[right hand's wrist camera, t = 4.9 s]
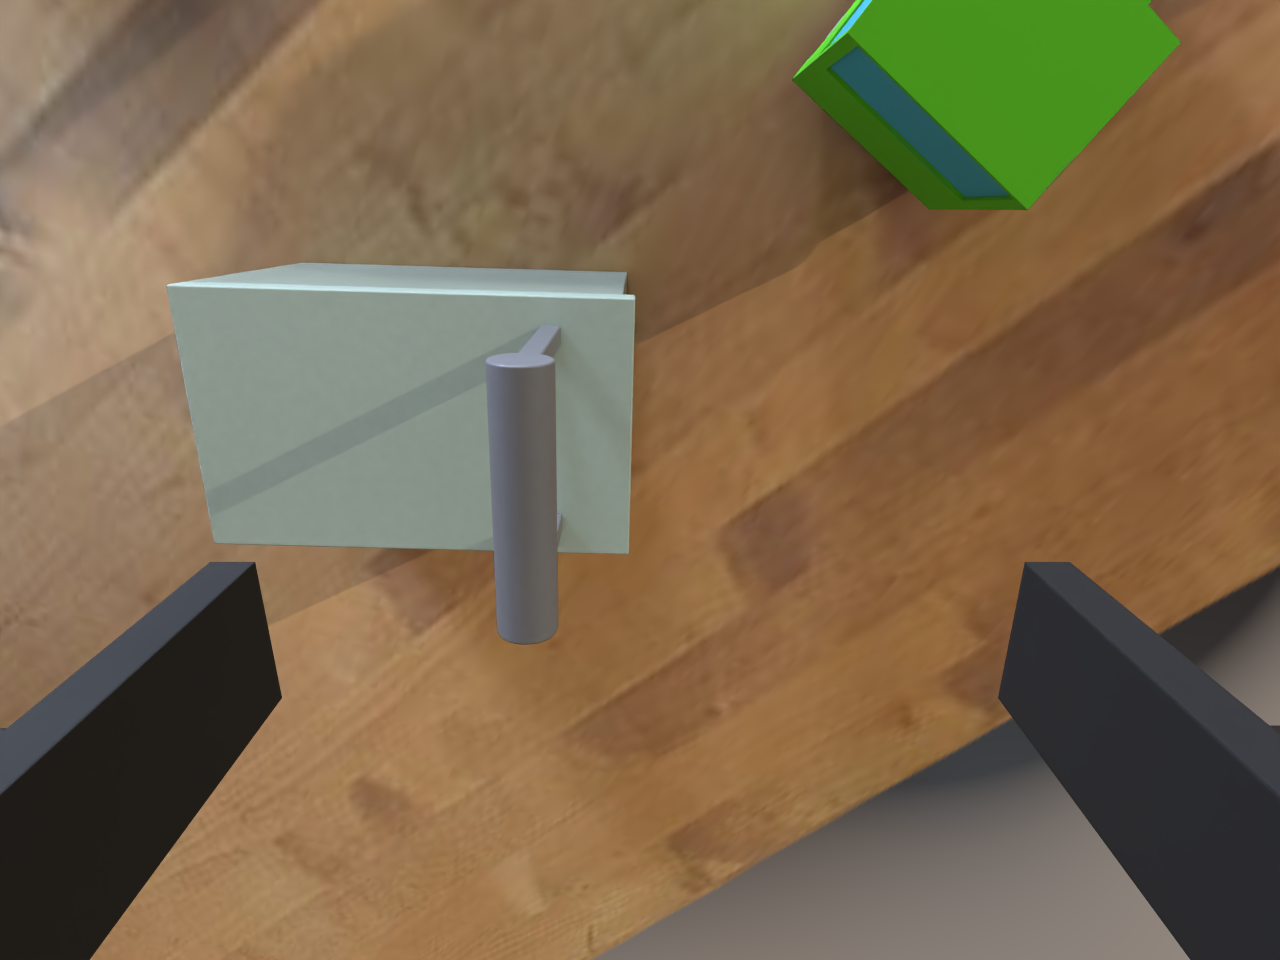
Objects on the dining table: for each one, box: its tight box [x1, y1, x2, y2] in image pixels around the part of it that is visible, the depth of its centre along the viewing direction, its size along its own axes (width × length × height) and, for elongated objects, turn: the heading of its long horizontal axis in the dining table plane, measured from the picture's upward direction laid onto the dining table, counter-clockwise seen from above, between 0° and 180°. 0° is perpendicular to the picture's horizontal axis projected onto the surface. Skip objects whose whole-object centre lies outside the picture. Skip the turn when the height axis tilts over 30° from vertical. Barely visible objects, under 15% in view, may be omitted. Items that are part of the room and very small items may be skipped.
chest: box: [187, 263, 627, 295], centre depth 32 cm, size 15×10×9 cm, turn 88°
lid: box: [167, 282, 635, 645], centre depth 23 cm, size 16×10×9 cm, turn 88°
